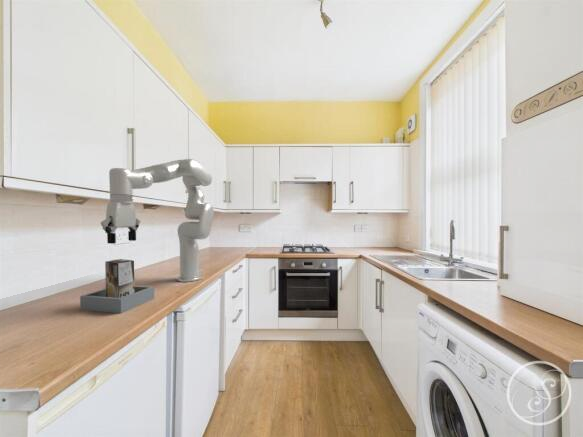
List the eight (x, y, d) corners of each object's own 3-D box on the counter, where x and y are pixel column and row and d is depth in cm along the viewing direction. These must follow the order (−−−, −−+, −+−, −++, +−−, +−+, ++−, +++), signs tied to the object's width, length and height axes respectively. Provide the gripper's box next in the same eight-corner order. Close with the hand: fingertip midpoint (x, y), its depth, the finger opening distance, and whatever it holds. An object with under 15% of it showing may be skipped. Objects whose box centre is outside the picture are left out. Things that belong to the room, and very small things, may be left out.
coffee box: (135, 300, 99) (135, 260, 99) (118, 305, 94) (118, 263, 94) (121, 297, 103) (121, 258, 103) (104, 301, 98) (104, 261, 97)
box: (118, 296, 108) (118, 284, 108) (154, 298, 104) (154, 286, 104) (80, 309, 92) (80, 296, 92) (121, 313, 89) (120, 299, 89)
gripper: (131, 200, 109) (132, 239, 110) (92, 198, 92) (94, 244, 93) (146, 200, 108) (146, 239, 108) (109, 198, 91) (110, 244, 91)
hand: (122, 241), depth 100 cm, fingers open, 9 cm apart
